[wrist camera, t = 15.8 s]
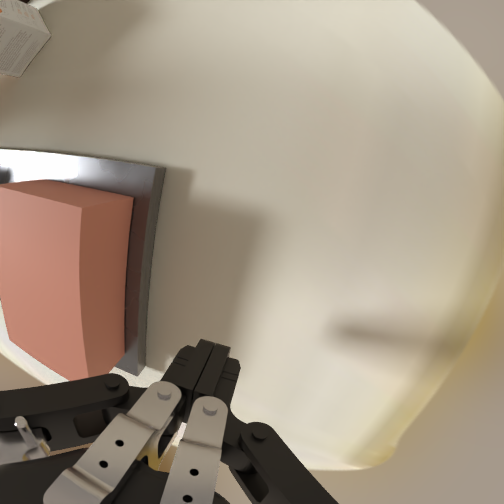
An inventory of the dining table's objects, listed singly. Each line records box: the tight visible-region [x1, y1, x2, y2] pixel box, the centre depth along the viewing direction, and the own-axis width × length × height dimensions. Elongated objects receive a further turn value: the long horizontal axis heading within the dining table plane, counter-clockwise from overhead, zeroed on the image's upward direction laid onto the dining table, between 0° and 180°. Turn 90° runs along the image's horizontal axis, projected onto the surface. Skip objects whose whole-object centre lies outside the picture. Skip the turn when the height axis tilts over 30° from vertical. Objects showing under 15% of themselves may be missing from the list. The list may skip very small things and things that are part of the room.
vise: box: [0, 149, 166, 376], centre depth 17 cm, size 24×16×6 cm
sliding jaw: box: [0, 179, 134, 381], centre depth 15 cm, size 9×12×5 cm
